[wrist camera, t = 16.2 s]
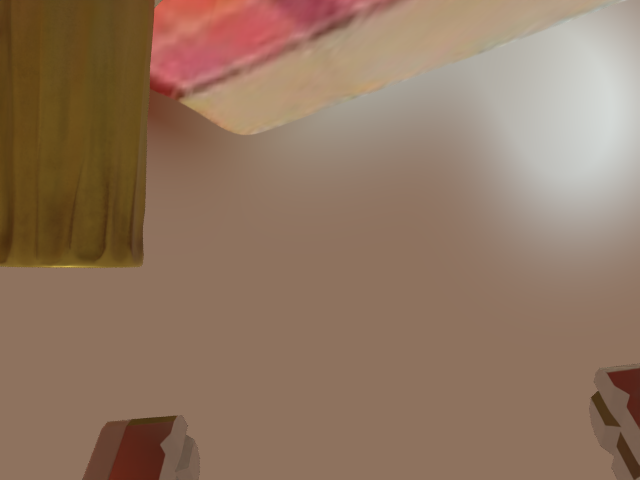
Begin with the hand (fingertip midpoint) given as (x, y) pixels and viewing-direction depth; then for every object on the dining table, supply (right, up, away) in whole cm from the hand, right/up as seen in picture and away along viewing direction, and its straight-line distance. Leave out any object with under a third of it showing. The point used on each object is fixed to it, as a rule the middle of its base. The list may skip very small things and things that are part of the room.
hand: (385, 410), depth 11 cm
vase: (-11, +17, +11) cm, 23 cm away
